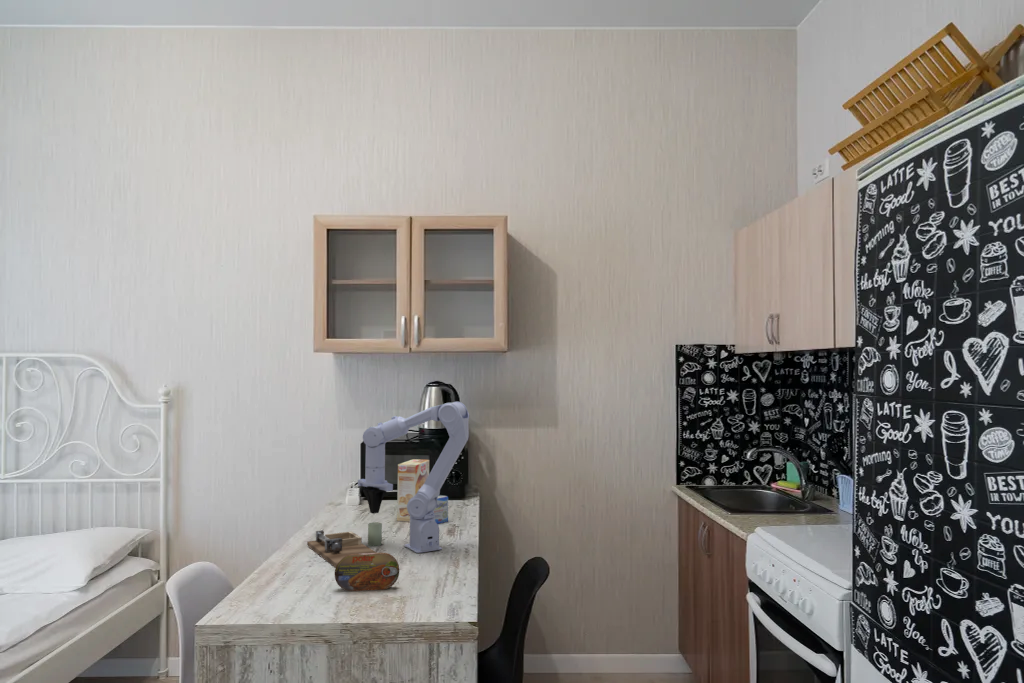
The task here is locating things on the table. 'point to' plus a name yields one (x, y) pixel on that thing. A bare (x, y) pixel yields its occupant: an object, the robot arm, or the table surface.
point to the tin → (367, 572)
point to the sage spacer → (375, 534)
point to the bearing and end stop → (327, 541)
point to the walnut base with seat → (349, 546)
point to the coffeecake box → (410, 484)
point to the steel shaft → (331, 544)
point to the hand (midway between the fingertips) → (374, 512)
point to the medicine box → (441, 510)
